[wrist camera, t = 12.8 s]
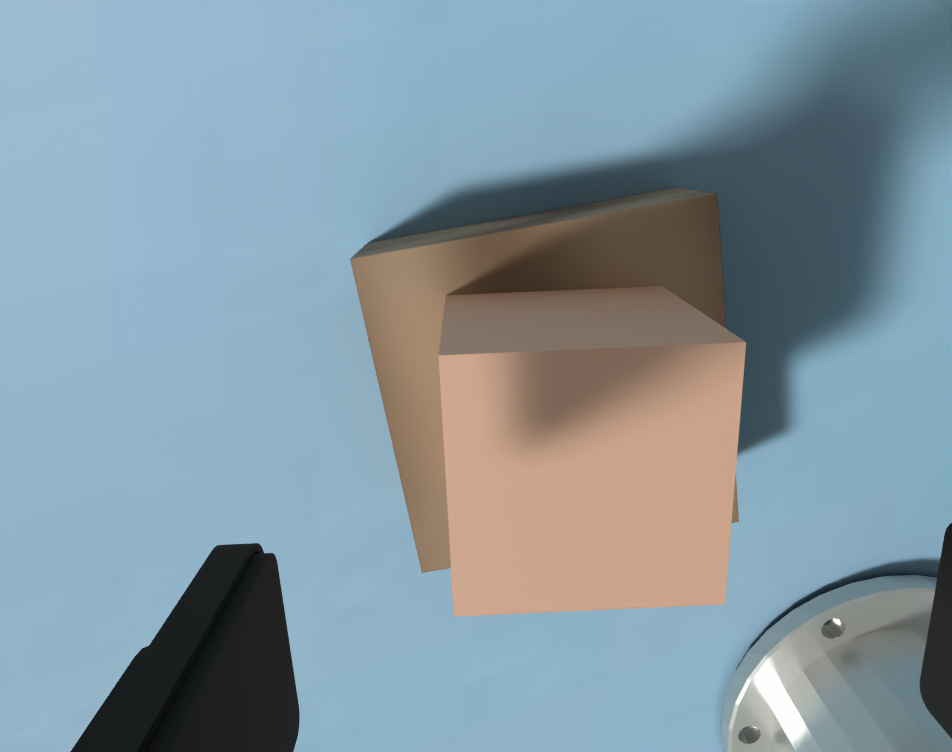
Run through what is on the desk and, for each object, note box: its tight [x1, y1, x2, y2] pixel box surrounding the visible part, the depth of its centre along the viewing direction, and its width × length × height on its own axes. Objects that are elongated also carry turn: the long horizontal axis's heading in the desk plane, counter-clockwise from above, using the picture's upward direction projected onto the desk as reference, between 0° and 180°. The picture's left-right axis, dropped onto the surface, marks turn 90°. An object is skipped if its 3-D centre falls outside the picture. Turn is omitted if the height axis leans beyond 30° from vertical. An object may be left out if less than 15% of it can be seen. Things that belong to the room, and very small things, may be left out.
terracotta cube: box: [439, 286, 746, 616], centre depth 17 cm, size 6×6×6 cm
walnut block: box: [350, 187, 739, 573], centre depth 22 cm, size 10×10×4 cm
